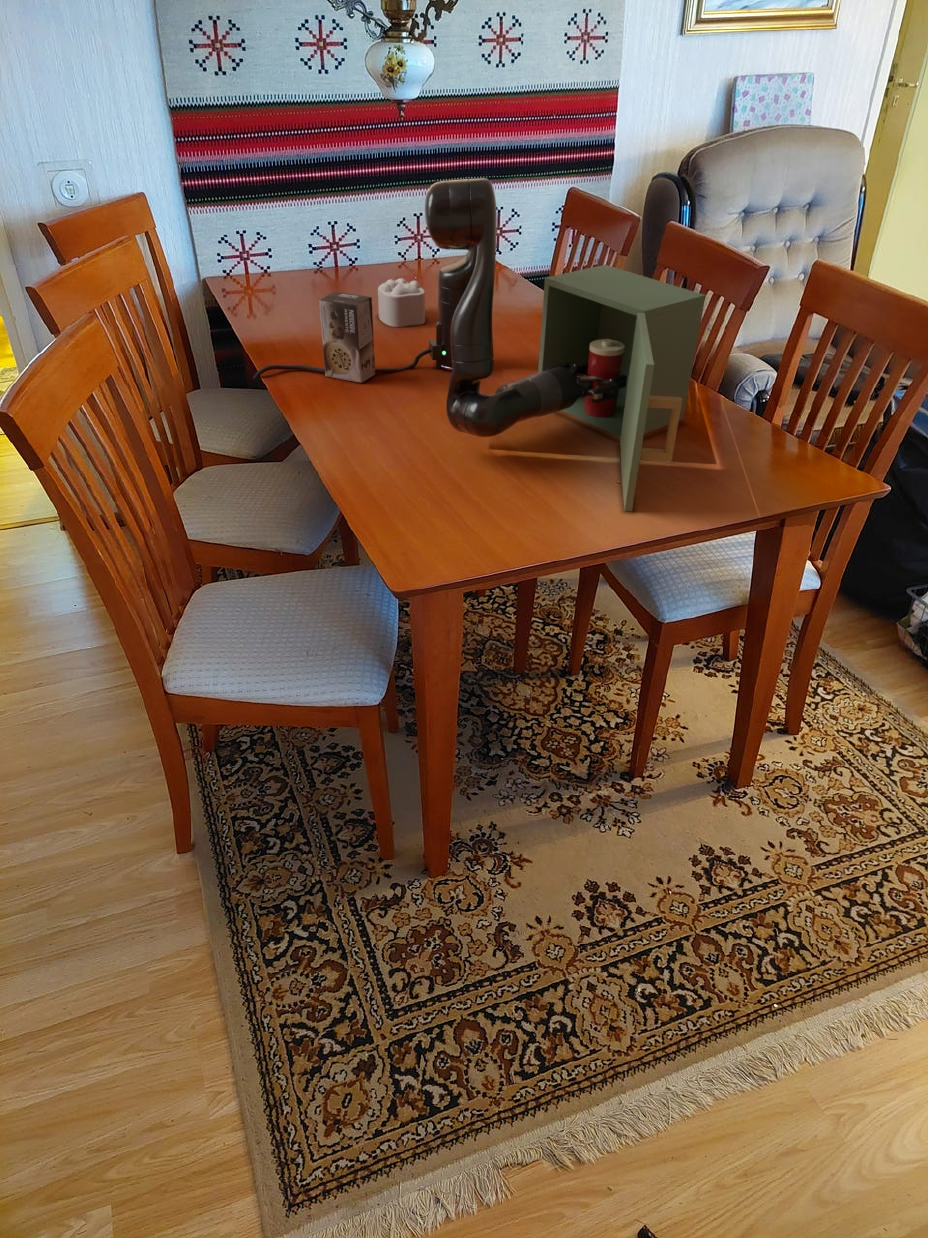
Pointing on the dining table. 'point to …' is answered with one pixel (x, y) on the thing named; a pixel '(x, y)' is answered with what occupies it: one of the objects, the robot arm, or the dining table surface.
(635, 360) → the cupboard door
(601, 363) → the red canister
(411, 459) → the dining table surface
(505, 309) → the dining table surface
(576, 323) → the cupboard
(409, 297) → the white lumpy-topped cup
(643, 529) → the dining table surface
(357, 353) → the coffee box
